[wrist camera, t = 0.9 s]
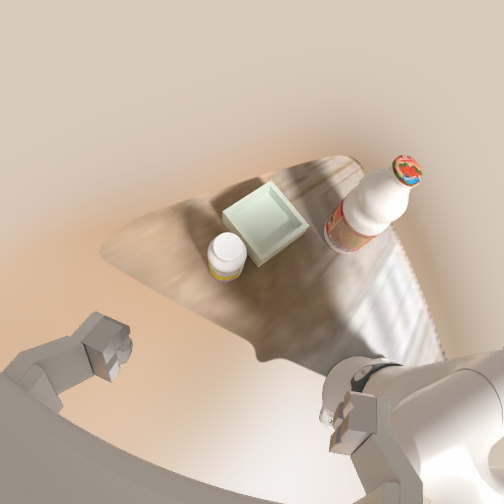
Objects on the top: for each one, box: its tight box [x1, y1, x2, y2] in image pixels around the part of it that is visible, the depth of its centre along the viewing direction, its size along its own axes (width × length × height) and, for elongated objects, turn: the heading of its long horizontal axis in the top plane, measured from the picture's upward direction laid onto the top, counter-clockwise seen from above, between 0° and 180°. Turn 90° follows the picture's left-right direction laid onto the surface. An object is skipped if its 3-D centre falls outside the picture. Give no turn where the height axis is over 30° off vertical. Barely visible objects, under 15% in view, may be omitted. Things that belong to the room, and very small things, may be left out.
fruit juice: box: [324, 155, 422, 254], centre depth 54 cm, size 9×9×28 cm
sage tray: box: [222, 181, 310, 267], centre depth 64 cm, size 12×12×5 cm
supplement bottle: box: [207, 232, 247, 282], centre depth 57 cm, size 7×7×13 cm
